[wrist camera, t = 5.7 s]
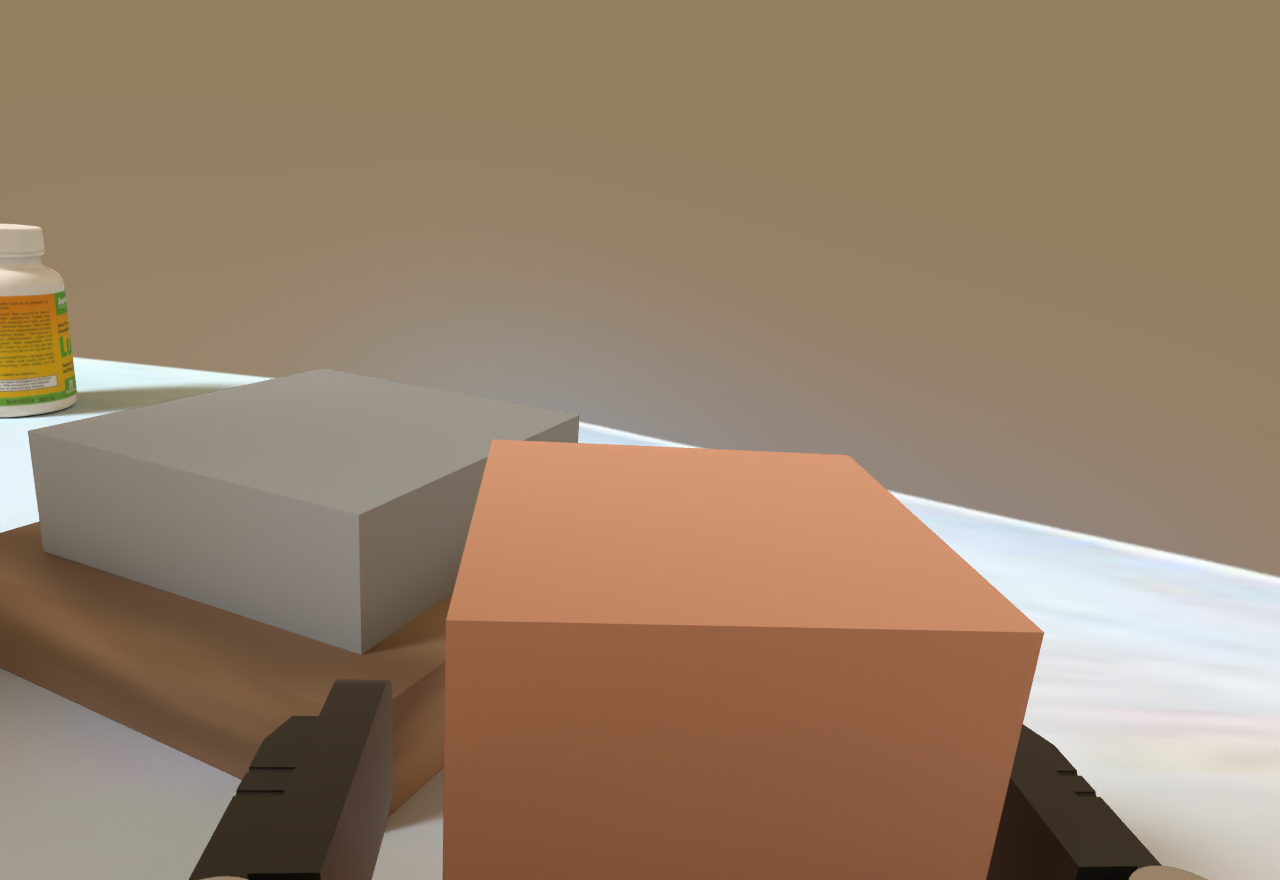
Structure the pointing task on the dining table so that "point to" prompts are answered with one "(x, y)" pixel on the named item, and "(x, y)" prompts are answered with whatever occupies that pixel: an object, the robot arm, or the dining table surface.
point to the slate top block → (284, 496)
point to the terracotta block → (720, 675)
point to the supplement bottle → (32, 328)
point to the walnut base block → (204, 663)
